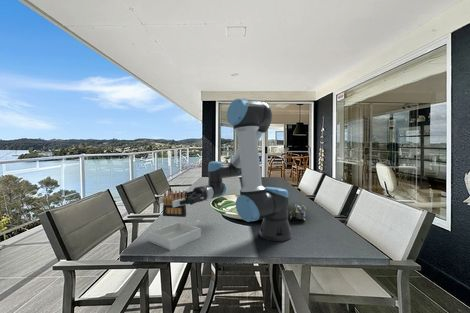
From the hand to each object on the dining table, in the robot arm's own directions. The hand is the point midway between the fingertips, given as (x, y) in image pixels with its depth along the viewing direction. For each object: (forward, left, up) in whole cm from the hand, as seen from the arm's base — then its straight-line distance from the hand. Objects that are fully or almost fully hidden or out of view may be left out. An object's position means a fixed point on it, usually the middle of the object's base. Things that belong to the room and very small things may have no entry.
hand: (166, 202), depth 113 cm
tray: (0, -4, -18) cm, 19 cm away
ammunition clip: (0, -5, -7) cm, 9 cm away
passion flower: (-32, -65, -19) cm, 75 cm away
